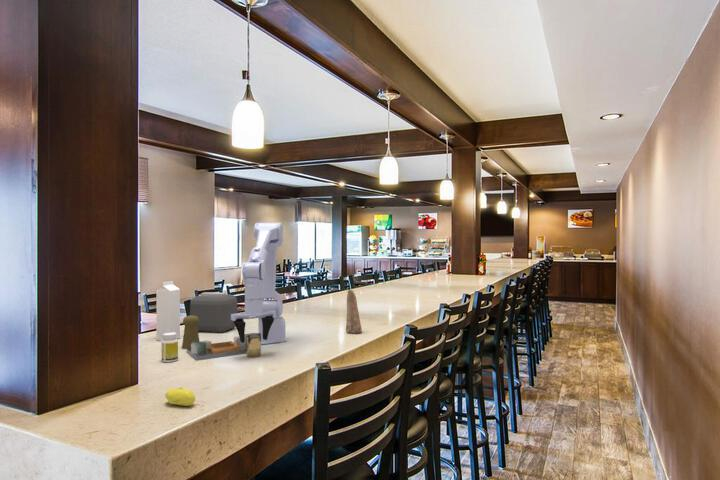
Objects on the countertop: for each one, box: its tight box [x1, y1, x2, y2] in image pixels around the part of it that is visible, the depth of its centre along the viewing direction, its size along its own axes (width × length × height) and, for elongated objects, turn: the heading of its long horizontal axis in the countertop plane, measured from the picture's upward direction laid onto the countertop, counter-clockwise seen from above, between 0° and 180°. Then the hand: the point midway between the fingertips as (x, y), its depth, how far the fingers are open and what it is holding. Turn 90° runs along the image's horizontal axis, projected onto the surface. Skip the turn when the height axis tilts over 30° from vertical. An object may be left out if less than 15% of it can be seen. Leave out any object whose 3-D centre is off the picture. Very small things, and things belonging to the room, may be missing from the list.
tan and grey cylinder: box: [246, 332, 262, 359], centre depth 150 cm, size 5×5×7 cm
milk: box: [155, 280, 181, 342], centre depth 175 cm, size 6×6×22 cm
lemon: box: [164, 387, 196, 407], centre depth 106 cm, size 4×8×4 cm, turn 64°
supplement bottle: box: [161, 333, 179, 363], centre depth 144 cm, size 5×5×8 cm
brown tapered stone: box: [345, 289, 362, 335], centre depth 186 cm, size 6×18×6 cm
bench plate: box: [186, 333, 248, 361], centre depth 155 cm, size 20×13×5 cm, turn 124°
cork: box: [181, 315, 200, 350], centre depth 162 cm, size 6×6×11 cm
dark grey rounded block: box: [189, 291, 238, 333], centre depth 192 cm, size 16×11×16 cm
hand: (253, 340), depth 150 cm, fingers open, 7 cm apart
